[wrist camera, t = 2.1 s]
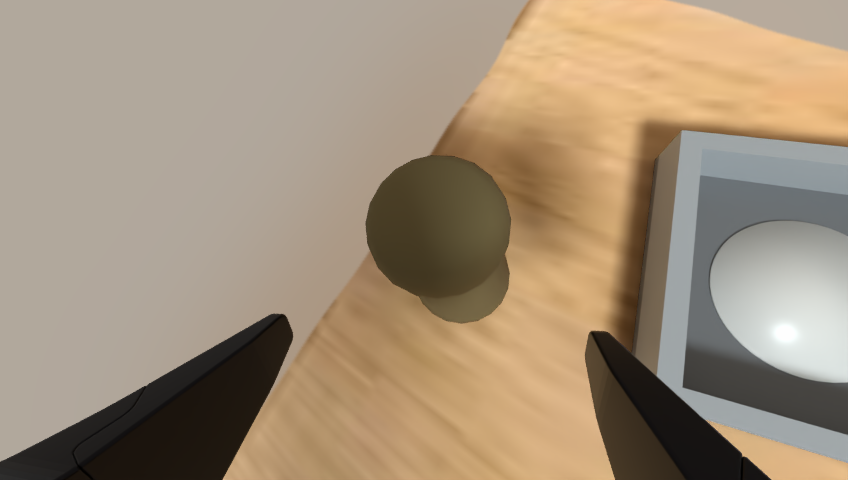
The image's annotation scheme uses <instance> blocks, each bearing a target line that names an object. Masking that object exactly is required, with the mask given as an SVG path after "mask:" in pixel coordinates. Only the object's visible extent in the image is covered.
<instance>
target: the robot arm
mask: <svg viewBox="0 0 848 480" xmlns="http://www.w3.org/2000/svg"><path fill="white" fill-rule="evenodd" d="M292 340H293V332H292V329H291V327H290V324H289V322H288V319H287V317H286V316H285V315H284V314H271V315H269V316H267V317H265V318H263V319H262V320H260V321H259V322H256V323H255V324H253V325H251V326H250V327H248V328H246V329H244V330H242V331H241V332H239V333H237V334H235V335H234V336H232V337H230V338H228V339H227V340H225V341H223V342H221V343H220V344H218V345H216V346H214V347H213V348H211V349H209V350H207V351H206V352H204V353H202V354H200V355H198V356H197V357H195V358H193V359H191V360H190V361H188V362H186V363H184V364H183V365H181V366H179V367H177V368H176V369H174V370H172V371H170V372H169V373H167V374H165V375H163V376H162V377H160V378H158V379H156V380H155V381H153V382H151V383H149V384H148V385H147V386H144V387H142V388H141V389H139V390H137V391H136V392H133V393H132V394H130V395H128V396H126V397H125V398H123V399H121V400H119V401H117V402H116V403H114V404H112V405H110V406H108V407H106V408H105V409H103V410H101V411H99V412H97V413H95V414H93V415H91V416H89V417H87V418H86V419H84V420H82V421H80V422H78V423H76V424H74V425H72V426H70V427H68V428H66V429H64V430H62V431H60V432H59V433H57V434H55V435H53V436H51V437H49V438H47V439H45V440H43V441H41V442H39V443H37V444H35V445H33V446H31V447H29V448H27V449H26V450H24V451H21V452H20V453H18V454H16V455H14V456H11V457H9V458H7V459H6V460H3V461H1V462H0V480H223V478H224V476H225V474H226V472H227V470H228V468H229V467H230V465H231V463H232V461H233V459H234V457H235V455H236V454H237V452H238V450H239V448H240V446H241V444H242V442H243V441H244V439H245V437H246V435H247V433H248V431H249V429H250V428H251V426H252V424H253V422H254V420H255V418H256V416H257V415H258V413H259V411H260V409H261V407H262V405H263V403H264V402H265V400H266V398H267V396H268V394H269V392H270V390H271V388H272V386H273V384H274V382H275V380H276V378H277V376H278V373H279V371H280V368H281V366H282V364H283V361H284V359H285V357H286V354H287V352H288V350H289V347H290V345H291V343H292ZM585 362H586V367H587V372H588V378H589V383H590V388H591V393H592V398H593V403H594V409H595V413H596V418H597V422H598V426H599V429H600V432H601V436H602V439H603V442H604V445H605V448H606V452H607V455H608V458H609V461H610V464H611V468H612V471H613V474H614V477H615V480H771V479H770V478H769V477H768V476H767V475H766V474H764V473H763V472H762V471H761V470H760V469H759V468H758V467H757V466H756V465H755V464H753V463H752V462H751V461H750V460H749V459H748V458H747V457H742V453H741V452H740V451H739V450H738V449H737V448H736V447H734V446H733V445H732V444H731V443H730V442H729V441H728V440H727V439H726V438H724V437H723V436H722V435H721V434H720V433H719V432H718V431H717V430H716V429H715V428H713V427H712V426H711V425H710V424H709V423H708V422H707V421H706V420H705V419H703V418H702V417H701V416H700V415H699V414H698V413H697V412H696V411H695V410H694V409H692V408H691V407H690V406H689V405H688V404H687V403H686V402H685V401H684V400H683V399H681V398H680V397H679V396H678V395H677V394H676V393H675V392H674V391H673V390H671V389H670V388H669V387H668V386H667V385H666V384H665V383H664V382H663V381H662V380H660V379H659V378H658V377H657V376H656V375H655V374H654V373H653V372H652V371H650V370H649V369H648V368H647V367H646V366H645V365H644V364H643V363H642V362H641V361H639V360H638V359H637V358H636V357H635V356H634V355H633V354H632V353H631V352H629V351H628V350H627V349H626V348H625V347H624V346H623V345H622V344H621V343H620V342H618V341H617V340H616V339H615V338H614V337H613V336H612V335H611V334H610V333H608V332H605V331H591V332H590V333H589V335H588V340H587V346H586V351H585Z"/></svg>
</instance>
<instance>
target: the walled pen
mask: <svg viewBox="0 0 848 480" xmlns="http://www.w3.org/2000/svg"><path fill="white" fill-rule="evenodd" d="M632 354H633V355H634V356H635V357H636V358H637V359H638V360H639V361H641V362H642V363H643V364H644V365H645V366H646V367H647V368H648V369H649V370H650V371H652V372H653V373H654V374H655V375H656V376H657V377H658V378H659V379H660V380H662V381H663V382H664V383H665V384H666V385H667V386H668V387H669V388H670V389H671V390H673V391H674V392H675V393H676V394H677V395H678V396H679V397H680V398H681V399H683V400H684V401H685V402H686V403H687V404H688V405H689V406H690V407H691V408H692V409H694V410H695V411H696V412H697V413H698V414H699V415H700V416H701V417H702V418H703V419H706V420H709V421H712V422H715V423H719V424H722V425H725V426H728V427H732V428H735V429H738V430H742V431H745V432H748V433H751V434H755V435H758V436H761V437H764V438H768V439H771V440H774V441H778V442H781V443H784V444H787V445H791V446H794V447H797V448H800V449H804V450H807V451H810V452H814V453H817V454H820V455H823V456H827V457H830V458H833V459H836V460H840V461H843V462H846V463H848V147H842V146H832V145H822V144H812V143H803V142H793V141H783V140H774V139H764V138H754V137H744V136H735V135H725V134H715V133H706V132H696V131H686V130H681V132H680V133H679V134H678V135H677V136H676V137H675V138H674V139H673V140H672V142H671V143H670V144H669V145H668V146H667V147H666V148H665V149H664V150H663V151H662V153H661V154H660V155H659V156H658V157H657V158H656V159H655V166H654V174H653V182H652V191H651V199H650V207H649V215H648V224H647V232H646V240H645V248H644V257H643V265H642V273H641V281H640V289H639V298H638V306H637V314H636V322H635V331H634V339H633V347H632Z"/></svg>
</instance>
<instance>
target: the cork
mask: <svg viewBox="0 0 848 480" xmlns="http://www.w3.org/2000/svg"><path fill="white" fill-rule="evenodd" d="M510 225H511V217H510V214H509V210H508V206H507V202H506V198H505V196H504V195H503V193H502V192H501V190H500V189H499V187H498V186H497V184H496V183H495V181H494V180H493V178H492V177H491V175H489V174H488V173H487V172H485V171H484V170H483V169H481V168H480V167H479V166H477V165H476V164H475V163H472V162H469V161H466V160H463V159H461V158H458V157H455V156H434V155H431V156H427V157H423V158H419V159H415V160H411V161H410V162H408V163H406V164H404V165H403V166H401V167H399V168H397V169H395V170H394V171H393V172H392V173H391V174H390V175H389V176H388V177H387V178H386V179H385V180H384V181H383V182H382V184H381V185H380V187H379V188H378V190H377V192H376V194H375V195H374V197H373V199H372V201H371V202H370V206H369V210H368V215H367V219H366V233H367V243H368V246H369V249H370V251H371V253H372V255H373V258H374V260H375V262H376V264H377V266H378V268H379V269H380V270H381V271H382V273H383V274H384V275H385V276H386V277H387V278H388V279H389V280H390V281H391V282H392V283H393V284H395V285H397V286H399V287H401V288H403V289H405V290H407V291H408V292H410V293H412V294H414V295H416V296H419V297H420V299H421V301H422V303H423V304H424V305H425V306H426V307H427V308H428V309H429V310H430V311H431V312H432V313H433V314H434V315H436V316H438V317H440V318H442V319H444V320H446V321H450V322H456V323H468V322H474V321H478V320H480V319H482V318H484V317H486V316H487V315H489V314H491V313H492V312H493V311H494V310H495V309H496V308H497V307H498V306H499V305H500V304H501V303H502V301H503V298H504V296H505V294H506V292H507V290H508V284H509V274H510V273H509V269H508V264H507V260H506V257H505V255H504V254H505V252H506V250H507V247H508V244H509V236H510Z"/></svg>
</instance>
